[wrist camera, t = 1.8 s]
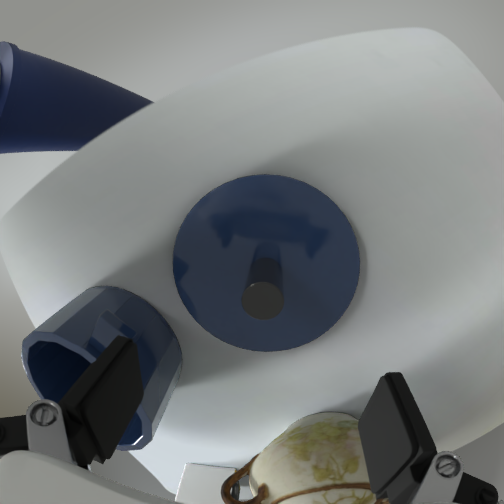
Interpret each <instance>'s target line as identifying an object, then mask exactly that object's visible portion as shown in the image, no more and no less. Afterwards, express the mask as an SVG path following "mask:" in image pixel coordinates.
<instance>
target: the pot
mask: <svg viewBox="0 0 504 504" xmlns="http://www.w3.org/2000/svg"><path fill="white" fill-rule="evenodd" d="M118 335H120V336H124V337H127V338H131V339H133V342H134V343H136V344H137V349H138V357H139V364H140V371H141V378H142V384H143V390H144V396H143V399H142V401H141V403H140V405H139V407H138V408H137V410H136V412H135V414H134V416H133V418H132V419H131V421H130V423H129V425H128V427H127V429H126V430H125V432H124V434H123V436H122V438H121V440H120V441H119V443H118V445H117V447H116V449H117V450H121V451H128V450H140V449H142V448H144V447H145V446H146V445H147V444H148V443H149V442H151V441H152V439H153V437H154V435H155V432H156V430H157V428H158V425H159V423H160V421H161V418H162V416H163V414H164V411H165V409H166V407H167V405H168V402H169V400H170V398H171V395H172V393H173V391H174V388H175V386H176V384H177V382H178V379H179V375H180V371H181V367H182V355H181V350H180V346H179V343H178V340H177V338H176V336H175V334H174V332H173V330H172V329H171V327H170V326H169V324H168V323H167V322H166V320H165V319H164V318H163V317H162V316H161V315H160V314H159V313H158V312H157V311H156V310H155V309H154V308H153V307H152V306H151V305H150V304H148V303H147V302H146V301H144V300H143V299H141V298H140V297H138V296H137V295H135V294H133V293H131V292H129V291H126V290H124V289H120V288H117V287H112V286H97V287H93V288H90V289H87V290H86V291H84V292H83V293H82V294H80V295H79V296H78V297H76V298H75V299H74V300H72V301H71V302H70V303H68V304H67V305H66V306H64V307H63V308H62V309H60V310H59V311H58V312H57V313H55V314H54V315H53V316H51V317H50V318H49V319H48V320H46V321H45V322H44V323H43V324H41V325H40V326H39V327H38V328H36V329H35V330H34V331H33V332H32V333H30V334H29V335H28V336H27V337H26V338H25V339H24V340H23V343H22V354H21V358H22V361H23V365H24V368H25V371H26V374H27V377H28V379H29V381H30V382H31V384H32V386H33V387H34V389H35V391H36V392H37V394H38V395H39V397H40V398H41V400H42V399H48V400H51V401H54V402H55V403H57V404H58V402H59V401H60V400H61V399H62V398H63V396H64V395H65V394H66V393H67V392H68V390H69V389H70V388H71V387H72V386H73V384H74V383H75V382H76V381H77V380H78V378H79V377H80V376H81V375H82V374H83V373H84V371H85V370H86V369H87V368H88V367H89V366H90V364H91V363H93V362H95V360H96V359H97V358H98V357H99V356H100V355H101V354H102V352H103V351H104V350H105V349H106V348H107V347H108V346H109V344H110V343H111V342H112V341H113V340H114V339H115V338H116V337H117V336H118Z"/></svg>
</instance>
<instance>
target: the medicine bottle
mask: <svg viewBox="0 0 504 504" xmlns="http://www.w3.org/2000/svg"><path fill="white" fill-rule="evenodd" d="M235 472H237V471H236V469H235V468H226V467H216V466H207V465H199V464H192V463H186V464H185V467H184V470H183V474H182V477H181V481H180V484H179V487H178V491H177V494H176V497H175V501H176V502H180V503H184V504H225V503H224V501H223V500H222V497H221V486H222V484H223V483H224V481H225V480H226V479H227V478H228V477H229V476H231V475H232V474H233V473H235ZM230 493H231V496H232V497H233V498H234V499H235V500H237V501H238V500H239V493H240V485H239V480H238V481H237V482H236V483H235V484H234V485H233V486H232V488H231V491H230Z"/></svg>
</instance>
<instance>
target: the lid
mask: <svg viewBox="0 0 504 504" xmlns="http://www.w3.org/2000/svg"><path fill="white" fill-rule="evenodd" d="M173 273H174V278H175V283H176V287H177V290H178V293H179V295H180V297H181V299H182V301H183V304H184V305H185V307H186V308H187V310H188V311H189V313H190V314H191V315H192V317H193V318H194V319H195V320H196V321H197V322H198V323H199V324H200V325H201V326H202V327H203V328H204V329H205V330H206V331H208V332H209V333H210V334H212V335H213V336H215V337H217V338H218V339H220V340H222V341H224V342H226V343H228V344H230V345H233V346H236V347H239V348H242V349H247V350H252V351H262V352H272V351H282V350H288V349H292V348H295V347H299V346H301V345H304V344H306V343H309V342H311V341H312V340H314V339H316V338H318V337H319V336H321V335H322V334H324V333H325V332H326V331H328V330H329V329H330V328H331V327H332V326H333V325H334V324H335V323H336V322H337V321H338V320H339V319H340V318H341V316H342V315H343V314H344V312H345V311H346V309H347V308H348V306H349V304H350V302H351V300H352V298H353V296H354V293H355V290H356V287H357V284H358V278H359V273H360V257H359V248H358V244H357V240H356V237H355V234H354V232H353V229H352V227H351V225H350V223H349V222H348V220H347V218H346V216H345V215H344V214H343V212H342V211H341V210H340V209H339V207H338V206H337V205H336V204H335V203H334V202H333V201H332V200H331V199H330V198H329V197H328V196H326V195H325V194H323V193H322V192H321V191H319V190H318V189H316V188H314V187H312V186H311V185H309V184H307V183H305V182H302V181H299V180H296V179H294V178H290V177H285V176H280V175H269V174H262V175H251V176H246V177H242V178H237V179H235V180H232V181H229V182H227V183H224V184H223V185H221V186H219V187H217V188H215V189H213V190H212V191H211V192H209V193H208V194H207V195H205V196H204V197H203V198H202V199H201V200H200V201H199V202H198V203H197V204H196V205H195V206H194V207H193V208H192V209H191V211H190V212H189V213H188V215H187V216H186V218H185V220H184V221H183V223H182V225H181V227H180V230H179V232H178V235H177V237H176V241H175V246H174V252H173Z"/></svg>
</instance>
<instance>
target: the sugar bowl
mask: <svg viewBox="0 0 504 504" xmlns="http://www.w3.org/2000/svg"><path fill="white" fill-rule="evenodd" d="M358 422H359V420H357V419H355V418H354V417H352V416H350V415H348V414H345V413H339V412H323V413H317V414H313V415H309V416H307V417H304V418H302V419H300V420H298V421H296V422H294V423H293V424H292V425H291V426H290V427H289V428H288V429H287V430H286V431H284V432H283V433H282V434H281V435H280V436H278V437H277V438H276V439H275V440H273V441H272V442H271V443H270V444H269V445H268V446H267V447H266V448H265V449H264V450H263V451H262V452H261V453H259V454H257V455H256V456H255V457H253V458H252V460H251V461H250V462H249V463H247V464H246V465H245V466H244V467H243V468H241V469H240V470H238V471H237V472H235V473H233V474H232V475H231V476H229V477H228V478H227V479H226V480H225V481H224V483H223V484H222V486H221V497H222V500H223V501H224V503H225V504H389V500H388V498H383V499H377V500H376V496H375V494H373V493H372V492H371V488H370V482H369V477H368V472H367V467H366V462H365V458H364V453H363V448H362V444H361V439H360V435H359V431H358ZM246 475H249V485H250V489H251V492H252V494H253V496H254V498H253V499H251V500H248V501H245V502H241V501H237V500H235V499H234V498H233V497H232V496H231V493H230V491H231V488H232V486H233V485H234V484H235V483H236V482H237V481H238V480H240V479H241V478H242V477H244V476H246Z"/></svg>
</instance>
